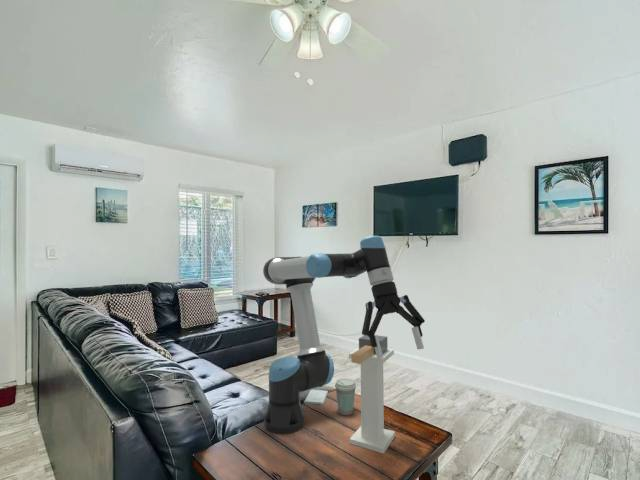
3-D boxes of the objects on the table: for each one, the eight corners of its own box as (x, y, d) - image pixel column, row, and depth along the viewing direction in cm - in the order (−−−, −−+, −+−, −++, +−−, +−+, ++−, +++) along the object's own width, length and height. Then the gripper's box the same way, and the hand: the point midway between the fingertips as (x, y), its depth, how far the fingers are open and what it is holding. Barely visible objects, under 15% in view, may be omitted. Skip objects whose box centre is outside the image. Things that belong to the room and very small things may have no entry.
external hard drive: (327, 394, 156) (322, 406, 144) (310, 392, 157) (304, 404, 145) (327, 390, 156) (322, 402, 144) (310, 389, 157) (304, 400, 145)
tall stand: (383, 453, 109) (382, 358, 110) (349, 443, 115) (348, 353, 116) (394, 435, 119) (393, 349, 120) (363, 427, 125) (362, 345, 126)
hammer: (367, 365, 104) (367, 350, 104) (344, 361, 108) (344, 346, 108) (387, 349, 120) (387, 336, 121) (366, 346, 124) (366, 334, 124)
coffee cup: (336, 406, 142) (335, 377, 143) (356, 407, 141) (356, 378, 141) (334, 416, 134) (333, 385, 134) (355, 417, 133) (355, 386, 133)
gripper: (349, 286, 99) (367, 362, 93) (422, 275, 107) (443, 344, 100) (341, 292, 106) (357, 362, 100) (411, 281, 114) (430, 346, 107)
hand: (400, 353), depth 100 cm, fingers open, 13 cm apart
